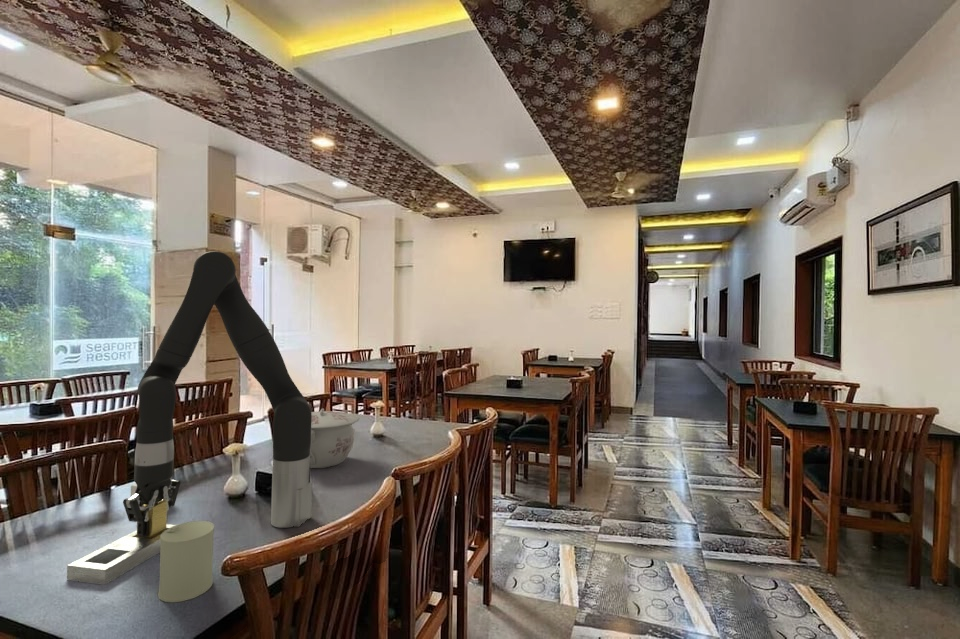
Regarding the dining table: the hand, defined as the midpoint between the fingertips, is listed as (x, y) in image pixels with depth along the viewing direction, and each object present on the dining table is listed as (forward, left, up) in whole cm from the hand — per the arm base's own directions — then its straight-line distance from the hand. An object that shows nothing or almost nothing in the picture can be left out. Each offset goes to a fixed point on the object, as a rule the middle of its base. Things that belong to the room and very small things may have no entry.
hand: (152, 531), depth 107 cm
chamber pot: (-8, -65, -3) cm, 66 cm away
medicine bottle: (+18, -18, -3) cm, 26 cm away
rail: (0, +6, -3) cm, 6 cm away
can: (-21, +14, -3) cm, 25 cm away
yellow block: (0, 0, -1) cm, 1 cm away
